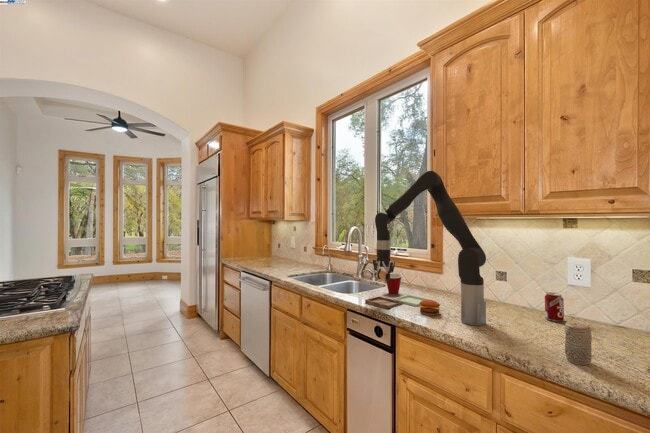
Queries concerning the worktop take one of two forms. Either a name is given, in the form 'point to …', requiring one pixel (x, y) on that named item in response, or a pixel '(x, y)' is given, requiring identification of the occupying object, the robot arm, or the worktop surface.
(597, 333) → the worktop surface
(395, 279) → the plastic cup
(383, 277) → the ball
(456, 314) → the worktop surface
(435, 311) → the hamburger
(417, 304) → the dish
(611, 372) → the worktop surface
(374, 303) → the tray
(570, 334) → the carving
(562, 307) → the soda can
